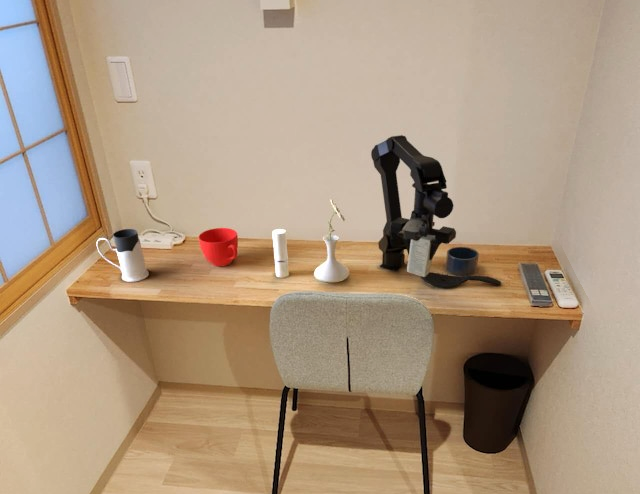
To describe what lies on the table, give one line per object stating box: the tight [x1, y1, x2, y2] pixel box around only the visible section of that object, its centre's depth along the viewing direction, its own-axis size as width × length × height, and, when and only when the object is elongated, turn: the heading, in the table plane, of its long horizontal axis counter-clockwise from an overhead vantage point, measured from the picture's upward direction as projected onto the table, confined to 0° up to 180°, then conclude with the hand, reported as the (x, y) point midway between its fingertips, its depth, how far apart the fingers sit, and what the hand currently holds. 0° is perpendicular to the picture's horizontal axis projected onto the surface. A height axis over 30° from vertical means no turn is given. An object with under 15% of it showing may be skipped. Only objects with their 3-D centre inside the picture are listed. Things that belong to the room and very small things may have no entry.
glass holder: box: [95, 228, 150, 283], centre depth 179 cm, size 9×14×15 cm, turn 94°
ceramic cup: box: [198, 227, 239, 267], centre depth 186 cm, size 13×17×10 cm
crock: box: [444, 246, 480, 276], centre depth 179 cm, size 10×10×6 cm
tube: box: [271, 228, 290, 278], centre depth 176 cm, size 4×4×15 cm
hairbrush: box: [419, 270, 502, 290], centre depth 171 cm, size 8×4×25 cm
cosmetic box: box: [406, 235, 434, 277], centre depth 163 cm, size 6×4×12 cm
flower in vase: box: [313, 198, 350, 284], centre depth 171 cm, size 13×11×25 cm
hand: (420, 257), depth 164 cm, fingers closed on cosmetic box, 6 cm apart
